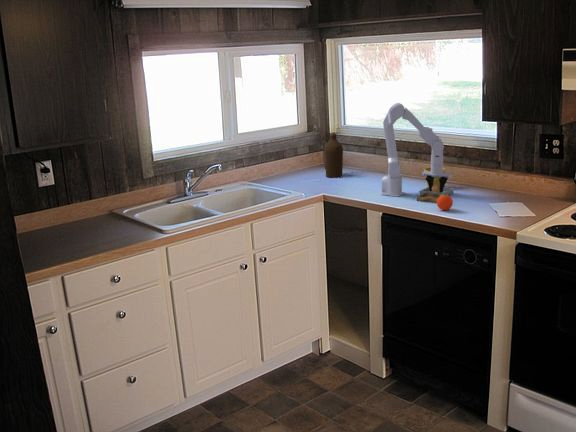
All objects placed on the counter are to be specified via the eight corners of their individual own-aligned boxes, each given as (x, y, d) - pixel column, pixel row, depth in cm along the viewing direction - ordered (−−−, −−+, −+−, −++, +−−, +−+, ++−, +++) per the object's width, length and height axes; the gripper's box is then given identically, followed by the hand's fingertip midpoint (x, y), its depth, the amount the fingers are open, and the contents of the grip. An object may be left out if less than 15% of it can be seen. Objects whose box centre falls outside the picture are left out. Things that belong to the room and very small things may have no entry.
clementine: (431, 210, 278) (431, 194, 276) (438, 207, 283) (439, 191, 281) (448, 212, 273) (448, 197, 271) (455, 209, 278) (455, 193, 276)
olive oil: (347, 175, 359) (346, 131, 352) (336, 178, 351) (335, 134, 344) (331, 173, 365) (330, 130, 359) (321, 177, 357) (319, 133, 351)
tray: (417, 200, 295) (417, 196, 295) (425, 196, 302) (425, 192, 301) (438, 203, 289) (439, 199, 288) (447, 199, 295) (447, 195, 295)
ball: (429, 193, 305) (430, 184, 304) (433, 191, 309) (434, 182, 308) (438, 194, 303) (439, 185, 301) (442, 192, 306) (442, 183, 305)
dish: (419, 195, 305) (419, 190, 304) (430, 190, 314) (430, 185, 313) (442, 198, 298) (443, 193, 297) (453, 193, 307) (453, 188, 306)
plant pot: (436, 190, 313) (436, 171, 310) (419, 188, 320) (419, 169, 318) (448, 187, 319) (449, 168, 317) (432, 184, 327) (432, 166, 324)
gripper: (419, 164, 303) (419, 191, 307) (447, 166, 295) (447, 194, 298) (425, 161, 308) (425, 188, 312) (453, 164, 300) (453, 191, 303)
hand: (436, 191), depth 305 cm, fingers closed on ball, 4 cm apart
